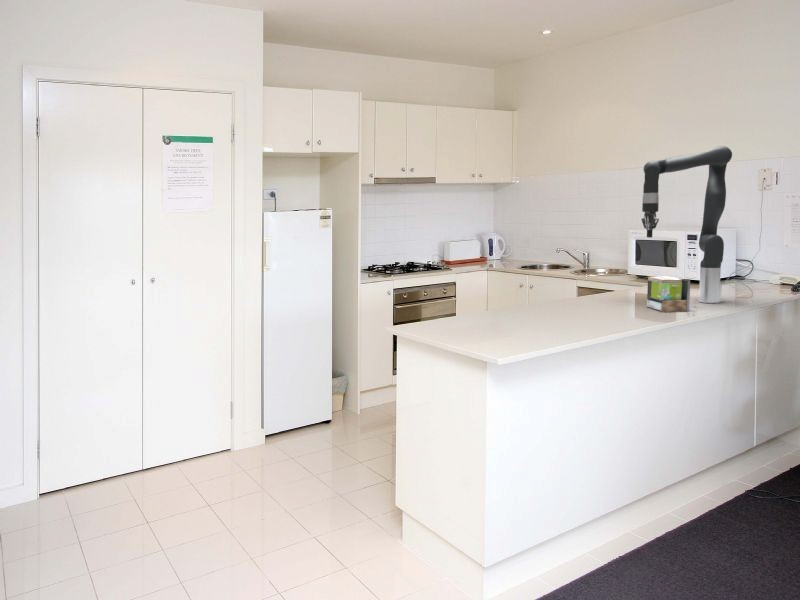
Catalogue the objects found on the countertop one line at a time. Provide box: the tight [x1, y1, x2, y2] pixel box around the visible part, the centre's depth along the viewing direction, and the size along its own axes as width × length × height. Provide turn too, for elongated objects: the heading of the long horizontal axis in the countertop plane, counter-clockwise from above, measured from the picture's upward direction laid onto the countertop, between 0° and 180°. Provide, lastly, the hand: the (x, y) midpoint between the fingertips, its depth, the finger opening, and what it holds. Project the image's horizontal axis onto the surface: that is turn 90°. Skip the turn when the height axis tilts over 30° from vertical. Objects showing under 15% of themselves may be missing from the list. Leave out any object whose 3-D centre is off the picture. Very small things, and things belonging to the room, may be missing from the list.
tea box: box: [646, 275, 683, 312], centre depth 325 cm, size 15×10×15 cm, turn 5°
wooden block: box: [661, 300, 688, 313], centre depth 318 cm, size 12×1×5 cm, turn 99°
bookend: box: [677, 277, 691, 312], centre depth 323 cm, size 1×13×14 cm, turn 9°
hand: (649, 237), depth 347 cm, fingers closed
